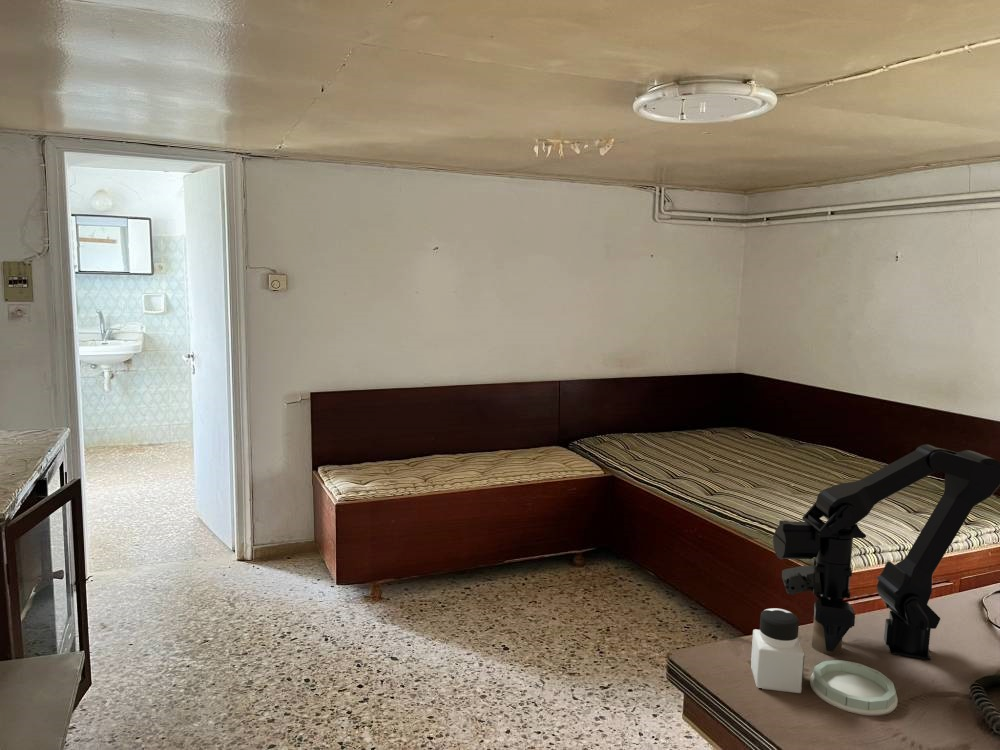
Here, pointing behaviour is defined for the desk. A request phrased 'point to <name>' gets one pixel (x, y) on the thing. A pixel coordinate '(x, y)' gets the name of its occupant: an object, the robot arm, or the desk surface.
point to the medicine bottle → (777, 652)
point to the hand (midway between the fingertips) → (827, 638)
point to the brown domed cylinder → (822, 640)
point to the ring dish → (854, 687)
